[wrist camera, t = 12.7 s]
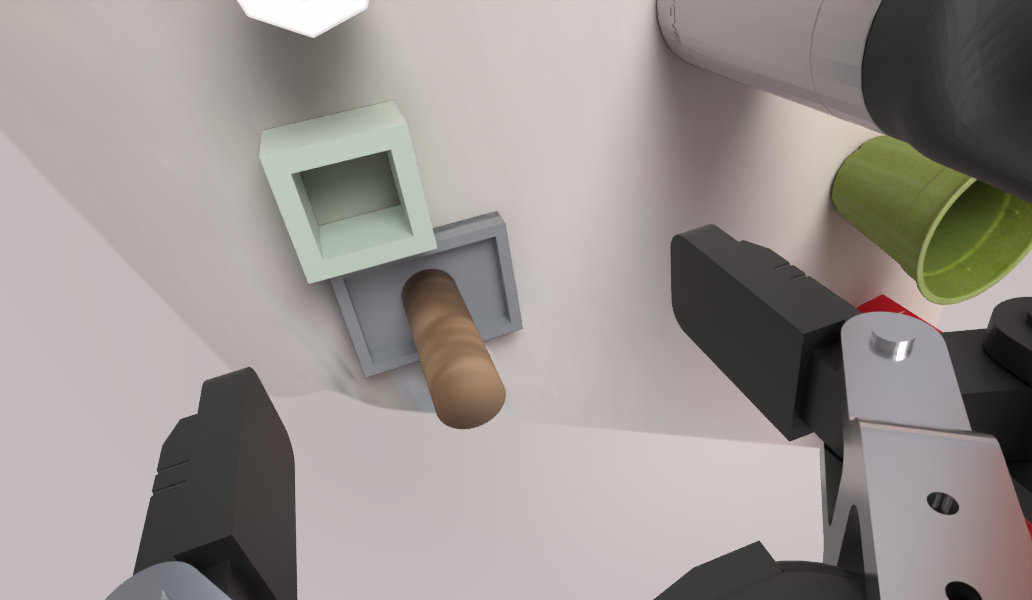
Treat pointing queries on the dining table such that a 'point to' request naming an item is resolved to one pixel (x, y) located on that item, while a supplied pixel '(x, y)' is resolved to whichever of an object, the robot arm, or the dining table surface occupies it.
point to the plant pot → (933, 219)
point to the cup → (303, 13)
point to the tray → (460, 252)
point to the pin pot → (360, 235)
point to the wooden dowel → (451, 351)
